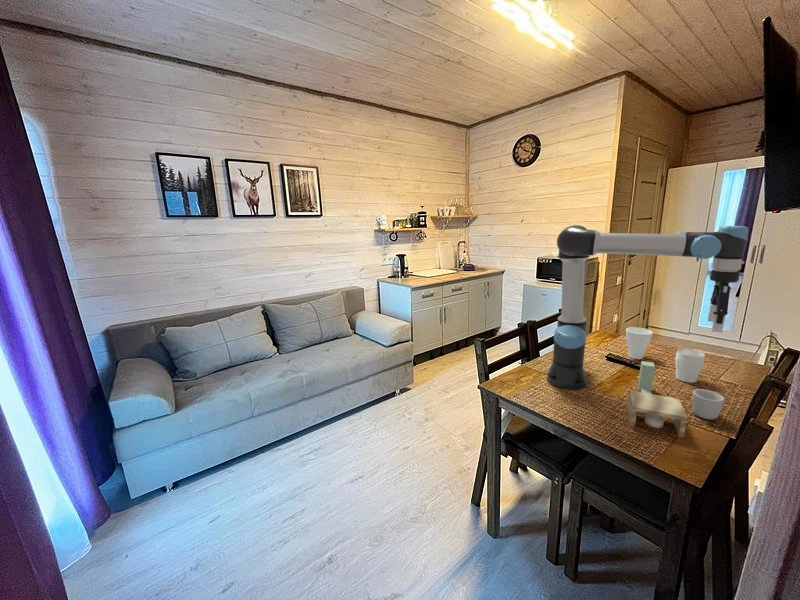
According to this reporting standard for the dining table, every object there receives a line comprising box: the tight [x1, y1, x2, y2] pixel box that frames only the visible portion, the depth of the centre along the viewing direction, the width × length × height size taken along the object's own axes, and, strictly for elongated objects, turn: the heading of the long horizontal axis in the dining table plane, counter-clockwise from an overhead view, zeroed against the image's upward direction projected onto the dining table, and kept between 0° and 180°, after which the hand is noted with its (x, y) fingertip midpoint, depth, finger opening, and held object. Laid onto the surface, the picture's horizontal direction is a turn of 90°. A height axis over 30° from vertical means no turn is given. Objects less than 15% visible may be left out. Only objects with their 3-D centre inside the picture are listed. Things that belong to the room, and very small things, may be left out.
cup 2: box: [675, 348, 706, 384], centre depth 140 cm, size 9×9×12 cm
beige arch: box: [626, 389, 688, 438], centre depth 114 cm, size 14×12×7 cm
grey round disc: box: [644, 413, 665, 429], centre depth 113 cm, size 5×5×2 cm
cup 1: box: [625, 326, 654, 360], centre depth 162 cm, size 10×10×14 cm
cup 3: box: [692, 388, 725, 421], centre depth 117 cm, size 11×8×8 cm
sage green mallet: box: [637, 360, 656, 394], centre depth 127 cm, size 4×21×11 cm, turn 151°
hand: (714, 326), depth 125 cm, fingers open, 13 cm apart
